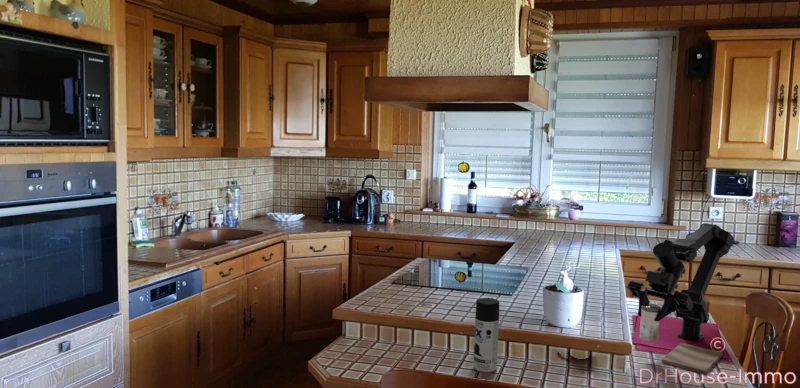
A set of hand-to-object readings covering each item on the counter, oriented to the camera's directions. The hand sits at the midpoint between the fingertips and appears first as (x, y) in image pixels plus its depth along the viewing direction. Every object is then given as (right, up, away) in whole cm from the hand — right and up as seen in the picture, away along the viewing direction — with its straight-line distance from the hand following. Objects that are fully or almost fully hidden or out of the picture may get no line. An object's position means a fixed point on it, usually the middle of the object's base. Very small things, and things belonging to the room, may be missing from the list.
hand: (647, 318), depth 182 cm
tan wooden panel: (+14, -13, +1) cm, 19 cm away
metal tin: (+1, -6, +2) cm, 7 cm away
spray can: (-50, -13, -8) cm, 52 cm away
